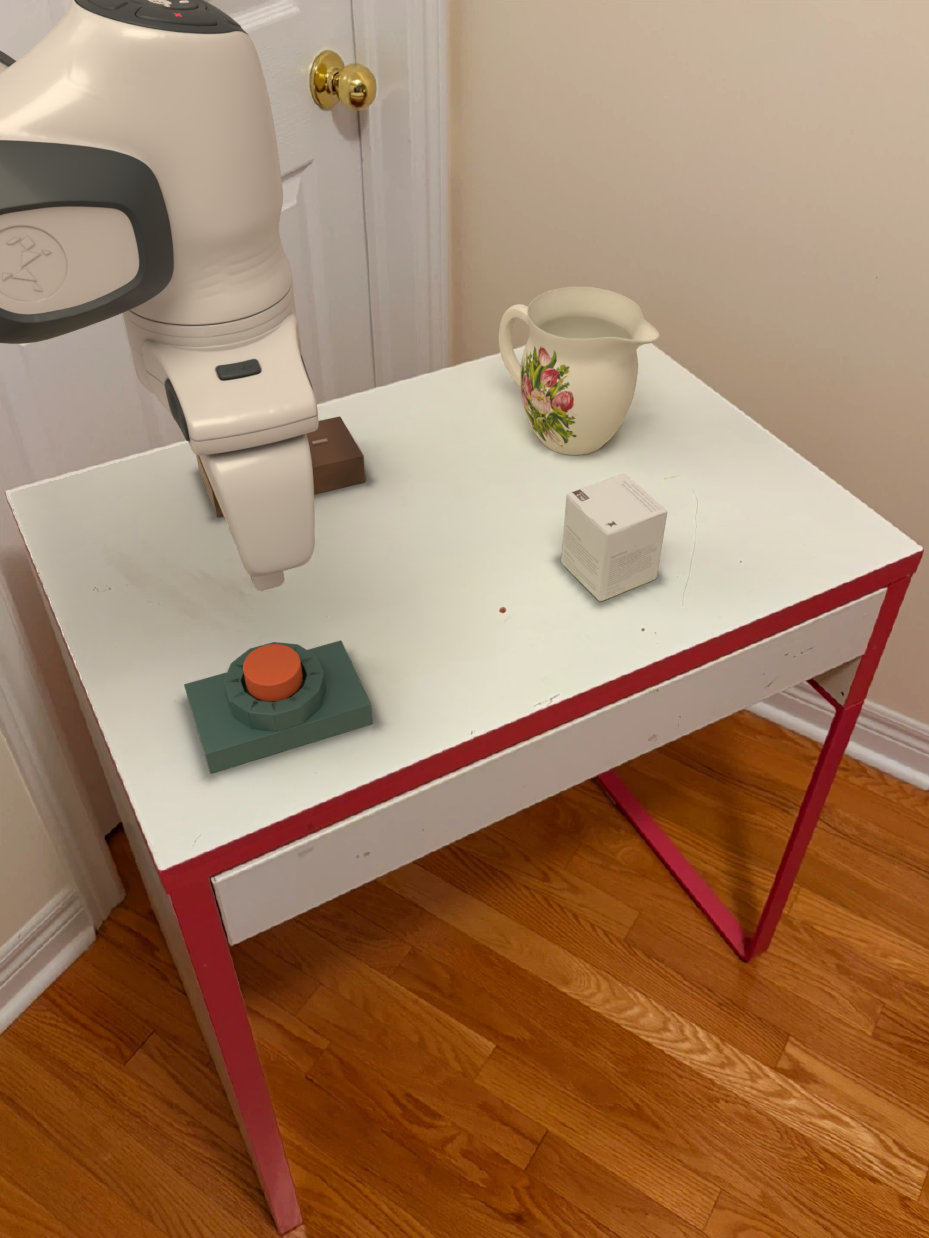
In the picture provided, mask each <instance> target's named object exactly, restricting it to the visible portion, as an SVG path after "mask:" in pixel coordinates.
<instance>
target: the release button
mask: <svg viewBox="0 0 929 1238" xmlns="http://www.w3.org/2000/svg"><path fill="white" fill-rule="evenodd" d="M243 672H244V677H245V682H246V686H247V689H248V691H249V693H250V694H251V695H252V696H254V697H255V698H257V699H259V700H263V701H270V702H272V701H280V700H283V699H286V698H288V697H290V696H292V695H293V694H294V693H296V692H297V691H298V689H299V688H300V686H301V684H302V680H303V676H302V669H301V662H300V658H299V655H298V654H297V653H296V652H295V651H294V650H293V649H292V648H290V647H288V646H285V645H280V644H270V645H265V646H262V647H259V648H257V649H255V650H254V651H252V652H251V653H250V654H249V655H248V656H247V657H246V659H245V661H244V664H243Z"/></svg>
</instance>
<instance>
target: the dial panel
mask: <svg viewBox="0 0 929 1238" xmlns="http://www.w3.org/2000/svg"><path fill="white" fill-rule="evenodd" d="M306 435H307V438H308V442H309V447H310V453H311V460H312V469H313V485H314V495H317V494H321V493H325V492H329V491H332V490H337V489H342V488H346V487H350V486H355V485H358V484H363V483H366V469H365V468H366V467H365V456H364V454H363V452H362V451H361V449H360V447H359V446H358V444H357V442H356V440H355V439H354V437H353V435H352V433H351V432H350V430H349V429H348V427H347V425H346V424H345V422H344V419H342V417H341V415H340V416H335V417H330V418H326V419H321V420H320V419H319V420H318V428H317V430H316V431H313V432H310V433H306ZM195 457H196V461H197V465H198V471H199V475H200V477H201V481H202V483H203V485H204V488H205V490H206V493H207V496H208V497H209V500H210V503H211V506H212V508H213V511H214V512H215V515H216V518H220V517H224V515H223V513H222V511H221V508H220V506H219V503H218V501H217V498H216V496H215V493H214V491H213V489H212V486H211V484H210V481H209V479H208V476H207V474H206V471H205V469H204V466H203V464H202V462H201V459H200V457H199V456H198V455H196V454H195Z"/></svg>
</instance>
